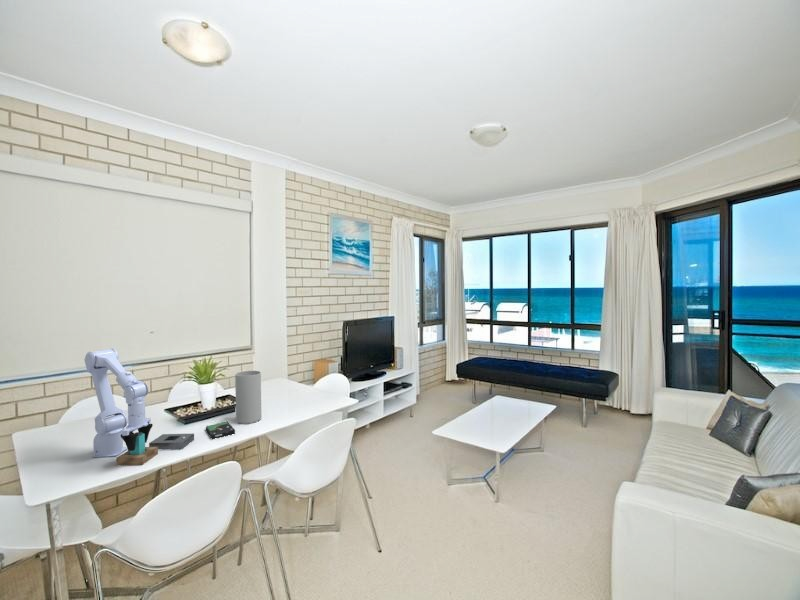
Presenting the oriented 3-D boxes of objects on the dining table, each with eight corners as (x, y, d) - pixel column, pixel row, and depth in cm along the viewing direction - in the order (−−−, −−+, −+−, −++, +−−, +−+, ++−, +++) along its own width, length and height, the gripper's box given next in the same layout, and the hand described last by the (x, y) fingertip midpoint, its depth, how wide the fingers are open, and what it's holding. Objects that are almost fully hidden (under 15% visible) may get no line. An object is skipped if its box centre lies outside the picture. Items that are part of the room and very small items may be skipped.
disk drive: (235, 435, 178) (227, 426, 189) (235, 429, 178) (227, 420, 189) (211, 441, 171) (205, 431, 183) (211, 435, 171) (204, 425, 183)
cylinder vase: (255, 424, 190) (254, 376, 190) (231, 424, 191) (230, 375, 190) (265, 416, 203) (264, 370, 202) (243, 415, 203) (242, 370, 203)
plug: (130, 461, 150) (129, 435, 149) (136, 457, 153) (135, 431, 153) (139, 461, 150) (138, 435, 150) (145, 457, 153) (144, 431, 153)
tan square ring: (116, 465, 146) (116, 458, 146) (133, 454, 156) (133, 447, 156) (142, 464, 147) (142, 457, 147) (157, 453, 157) (157, 446, 157)
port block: (149, 450, 161) (149, 442, 160) (162, 440, 170) (162, 433, 170) (182, 449, 161) (182, 441, 161) (194, 439, 171) (193, 432, 171)
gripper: (134, 419, 144) (136, 453, 144) (157, 407, 158) (158, 438, 159) (116, 419, 144) (117, 454, 144) (140, 407, 158) (141, 439, 158)
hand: (137, 446), depth 151 cm, fingers open, 7 cm apart
